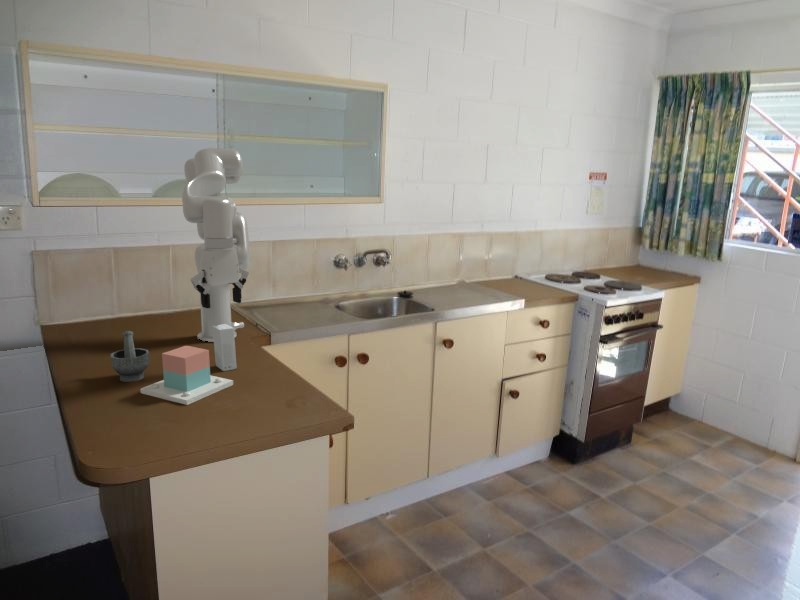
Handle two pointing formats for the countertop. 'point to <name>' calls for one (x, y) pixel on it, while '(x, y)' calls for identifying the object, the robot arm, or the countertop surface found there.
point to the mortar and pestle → (130, 360)
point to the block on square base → (186, 377)
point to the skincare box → (224, 347)
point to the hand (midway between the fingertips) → (222, 304)
